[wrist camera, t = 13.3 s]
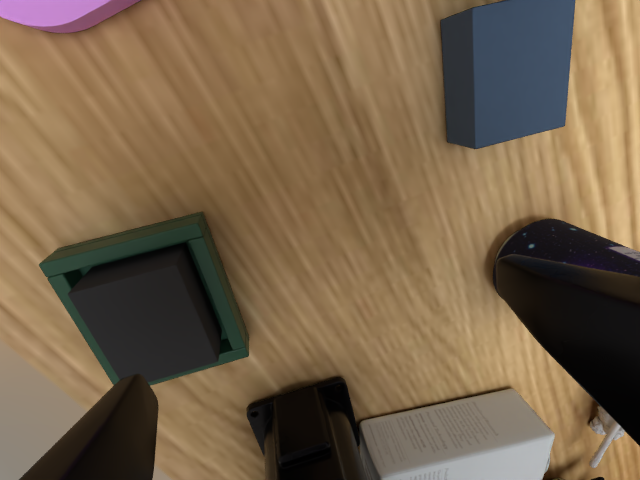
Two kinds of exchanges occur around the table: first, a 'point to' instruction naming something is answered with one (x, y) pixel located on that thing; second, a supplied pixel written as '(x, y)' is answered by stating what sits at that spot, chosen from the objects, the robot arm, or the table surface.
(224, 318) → the frame
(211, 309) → the charcoal pad
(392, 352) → the table surface
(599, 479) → the toy
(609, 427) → the figurine
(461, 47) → the blue pad
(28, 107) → the table surface
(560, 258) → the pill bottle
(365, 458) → the cosmetic box
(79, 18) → the bracket
